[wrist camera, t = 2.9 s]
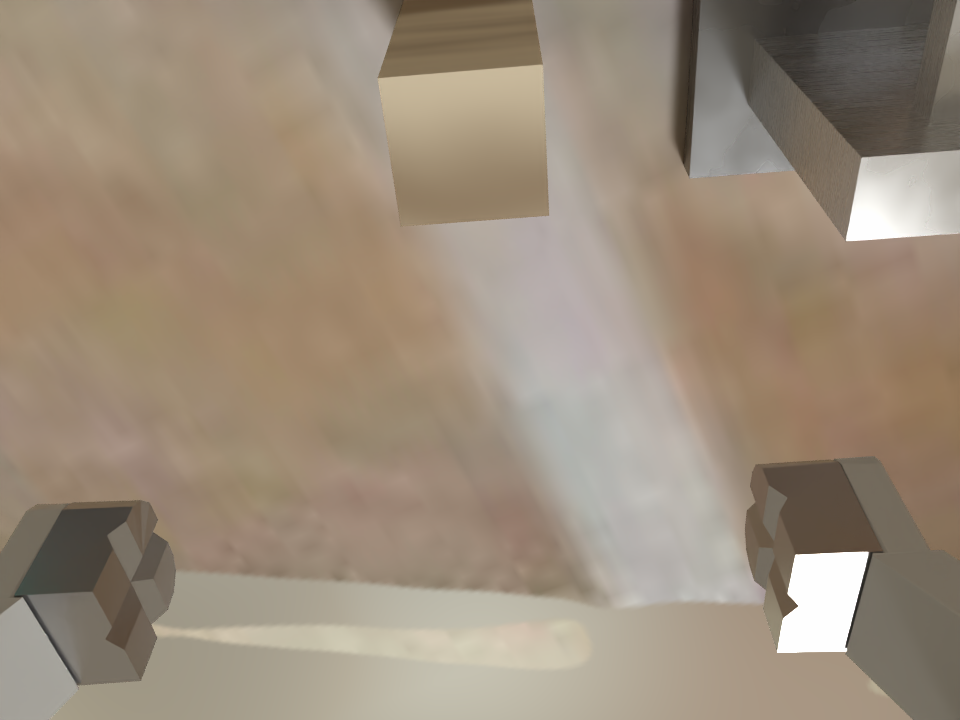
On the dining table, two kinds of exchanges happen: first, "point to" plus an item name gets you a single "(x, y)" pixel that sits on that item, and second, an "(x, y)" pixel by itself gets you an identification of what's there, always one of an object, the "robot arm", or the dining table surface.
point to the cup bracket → (834, 105)
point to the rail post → (465, 111)
